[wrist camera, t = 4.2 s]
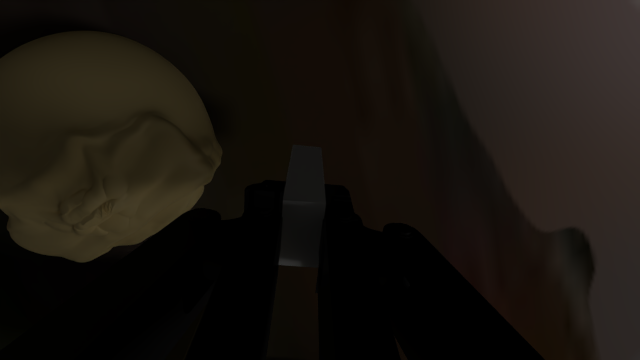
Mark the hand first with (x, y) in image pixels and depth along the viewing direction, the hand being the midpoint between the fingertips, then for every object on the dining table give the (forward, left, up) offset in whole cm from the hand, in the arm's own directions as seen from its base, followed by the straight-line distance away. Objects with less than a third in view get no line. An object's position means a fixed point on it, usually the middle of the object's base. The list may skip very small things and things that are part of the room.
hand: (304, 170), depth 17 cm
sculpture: (0, +12, -8) cm, 14 cm away
